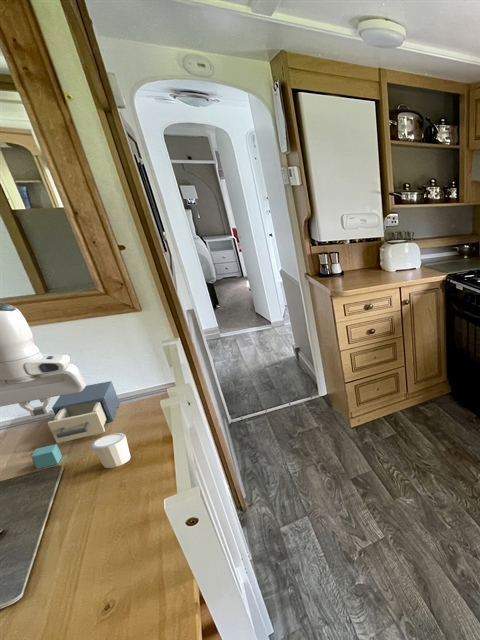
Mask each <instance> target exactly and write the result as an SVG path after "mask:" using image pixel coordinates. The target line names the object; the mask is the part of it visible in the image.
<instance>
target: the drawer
mask: <svg viewBox="0 0 480 640" xmlns="http://www.w3.org/2000/svg"><path fill="white" fill-rule="evenodd" d="M106 419H107V413H106V411H105V408H104V406H103V403H102V401H97V402H92V403H87V404H82V405H76V406H71V407H66V408H61V409H60V410H59V412H58V413H57V415H56V416H54V418H53V420H49V421H48V422H47V425H48V427H49V430H50V432H51V435H52V436H53V438H54V440H55V443H56V444H60V443H65V442H68V441H72V440H77V439H82V438H87V437H90V436H94V435H100V434H103V433H105V432H106V429H105V424H106V423H105V421H106Z"/></svg>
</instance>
